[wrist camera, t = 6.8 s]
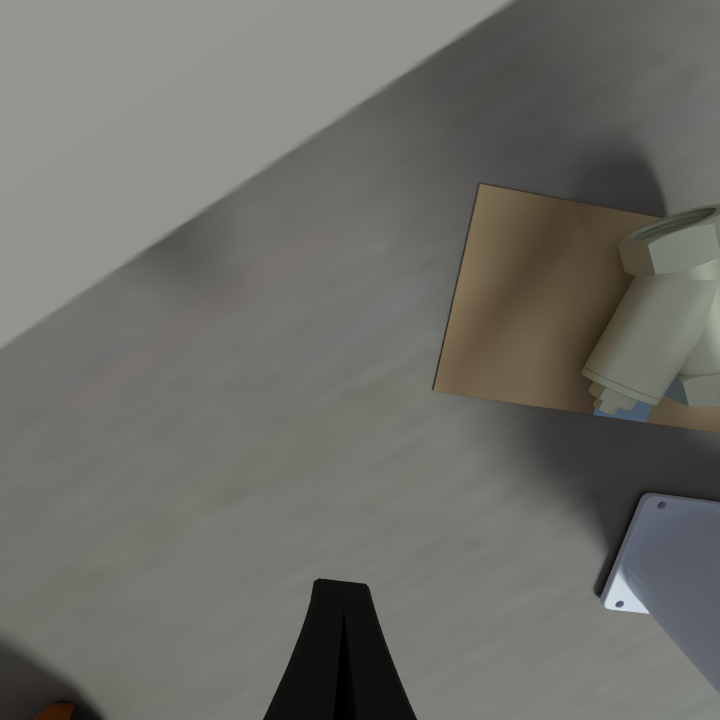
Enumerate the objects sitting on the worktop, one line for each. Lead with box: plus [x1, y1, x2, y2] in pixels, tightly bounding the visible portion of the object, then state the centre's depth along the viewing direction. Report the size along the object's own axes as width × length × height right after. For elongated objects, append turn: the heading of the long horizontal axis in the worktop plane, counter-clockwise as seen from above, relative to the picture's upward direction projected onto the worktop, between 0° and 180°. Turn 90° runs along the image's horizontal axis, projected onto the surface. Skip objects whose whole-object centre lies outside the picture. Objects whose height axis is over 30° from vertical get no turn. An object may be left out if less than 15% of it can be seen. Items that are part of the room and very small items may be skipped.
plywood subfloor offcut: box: [433, 184, 720, 433], centre depth 19 cm, size 20×10×1 cm, turn 81°
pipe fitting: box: [581, 204, 720, 415], centre depth 17 cm, size 8×4×7 cm
